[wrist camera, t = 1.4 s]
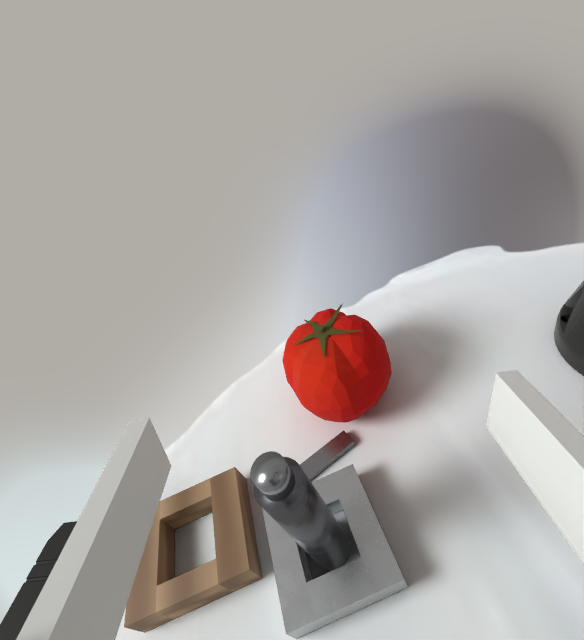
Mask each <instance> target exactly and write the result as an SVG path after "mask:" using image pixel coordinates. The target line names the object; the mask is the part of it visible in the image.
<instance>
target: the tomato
mask: <svg viewBox="0 0 584 640" xmlns="http://www.w3.org/2000/svg"><path fill="white" fill-rule="evenodd" d="M341 306H342V305H340V307H339V308H338V309H337V310H334V309H327V310H324V311H321V312H318V313H316V314H315V315H314V317H313V318H312V319H311V320H310V321H306V320H305V321H306V322H307V323H305V324H303V325H300V326H298V327H297V328H296V329H295V330H294V331H293V333H292V334H291V335H290V337H289V338H288V340H287V342H286V346H285V351H284V356H283V364H284V369H285V373H286V378H287V381H288V383H289V384H290V386H291V387H292V389H293V390H294V392H295V394H296V395H297V397H298V399H299V400H300V402H301V404H302V405H303V406H304V407H305V408H306V409H308V410H309V411H310V412H312V413H313V414H315V415H316V416H318V417H320V418H322V419H324V420H328V421H334V422H349V421H352V420H354V419H357V418H359V417H360V416H361V415H362V414H364V413H365V412H366V411H368V410H369V409H370V408H371V407H373V406H374V405H375V404H376V403H377V402H378V400H379V399H380V397H381V396H382V395H383V393H384V392H385V391H386V388H387V385H388V382H389V379H390V375H391V365H390V359H389V355H388V352H387V349H386V345H385V342H384V340H383V339H382V337H381V336H380V335H379V334H378V332H377V331H376V330H375V329H374V328H373V326H372V325H371V324H370V323H369V322H368V321H367V320H365V319H363V318H361V317H359V316H357V315H347V316H346V315H345V314H344V313H342V312H339V311H340V308H341Z"/></svg>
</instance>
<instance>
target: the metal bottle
mask: <svg viewBox="0 0 584 640" xmlns="http://www.w3.org/2000/svg"><path fill="white" fill-rule="evenodd" d="M250 476H251V480H252V482H253V484H254V494H255V498H256V500H257V502H258V503H259V505H260V506H261V507H262V508H263V509H264V510H265V511H266V512H267V513H268V514H269V515H270V516H271V517H272V518H273V519H274V520H275V521H276V522H277V523H278V524H279V525H280V526H281V527H282V528H283V529H284V530H285V531H286V532H287V533H288V534H289V535H290V536H291V537H292V538H293V539H294V540H295V541H296V542H297V543H298V544H299V545H300V546H301V547H302V548H303V549H304V550H305V551H306V552H307V553H308V554H309V555H310V556H311V557H312V558H313V559H314V560H315V561H316V562H317V563H318V564H319V565H320V566H321V567H322V568H324V569H327V570H335V569H337V568H339V567H341V566H343V565H344V564H345V562H346V561H347V559H348V557H349V554H350V542H349V538H348V536H347V534H346V533H345V531H344V530H343V528H342V527H341V526H340V524H339V523H338V521H337V520H336V518H335V517H334V515H333V514H332V512H331V511H330V509H329V508H328V506H327V505H326V503H325V502H324V501H323V499H322V498H321V496H320V495H319V493H318V492H317V490H316V489H315V487H314V486H313V484H312V483H311V481H310V480H309V478H308V477H307V476H306V474H305V473H304V471H303V470H302V468H301V467H300V465H299V464H298V463H297V462H296V461H295V460H293V459H291V458H288V457H282V456H281V455H280V454H279V453H277V452H266V453H264V454H262V455H260V456H259V457H258V458H257V459H256V460H255V461H254V463H253V465H252V467H251V472H250Z"/></svg>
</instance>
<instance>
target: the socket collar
mask: <svg viewBox="0 0 584 640" xmlns="http://www.w3.org/2000/svg"><path fill="white" fill-rule="evenodd" d="M312 484H313V486H314V487H315V489H316V490H317V492H318V493H319V495H320V496H321V498H322V499H323V501H324V502H325V503H326V505H327V506H328V508H329V509H330V511H331V512H332V514H335V513H337V512H339V511H342V510H344V513H345V516H346V518H347V521H348V524H349V526H350V529H351V532H352V534H353V537H354V539H355V542H356V545H357V547H358V550H359V553H360V555H361V558H359V559H357V560H355V561H352V562H350V563H348V564H346V565H344V566H341V567H339V568H337V569H335V570H333V571H331V572H328V573H326V574H324V575H322V576H320V577H318V578H315V579H313V580H312V577H311V573H310V569H309V566H308V562H307V558H306V554H305V551H304V549H303V548H302V547H301V546H300V545H299V544H298V543H297V542H296V541H295V540H294V539H293V538H292V537H291V536H290V535H289V534H288V533H287V532H286V531H285V530H284V529H283V528H282V527H281V526H280V525H279V524H278V523H277V522H276V521H275V520H274V519H273V518H272V517H271V516H270V515H269V514H268V513H267V512H266V511H265V510H264V509H263V508H262V511H263V516H264V521H265V526H266V532H267V537H268V542H269V547H270V552H271V558H272V563H273V568H274V573H275V578H276V584H277V589H278V594H279V599H280V604H281V610H282V615H283V620H284V625H285V630H286V634H287V635H289V636H291V637H294V638H296V639H297V638H299V637H301V636H304V635H306V634H308V633H310V632H312V631H315V630H317V629H319V628H321V627H323V626H325V625H328V624H330V623H332V622H334V621H336V620H338V619H341V618H343V617H345V616H347V615H349V614H351V613H354V612H356V611H358V610H360V609H362V608H364V607H367V606H369V605H371V604H373V603H375V602H377V601H380V600H382V599H384V598H386V597H388V596H390V595H393V594H395V593H397V592H399V591H401V590H403V589H406V588H408V586H407V584H406V582H405V579H404V577H403V575H402V573H401V570H400V568H399V566H398V564H397V561H396V559H395V557H394V555H393V552H392V550H391V548H390V546H389V544H388V541H387V539H386V537H385V535H384V532H383V530H382V528H381V526H380V523H379V521H378V519H377V517H376V515H375V512H374V510H373V508H372V506H371V503H370V501H369V499H368V497H367V494H366V492H365V490H364V488H363V486H362V483H361V481H360V479H359V477H358V474H357V472H356V470H355V468H354V466H353V464H352V465H350V466H347V467H345V468H343V469H341V470H339V471H337V472H334V473H332V474H330V475H328V476H326V477H324V478H321V479H319V480H317V481H315V482H313V483H312Z"/></svg>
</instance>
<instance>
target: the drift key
mask: <svg viewBox="0 0 584 640" xmlns="http://www.w3.org/2000/svg"><path fill="white" fill-rule="evenodd" d="M353 446H355V444H354V441H353V440H352V439H351V438H350V437H349V436H348V435H347V433H346V432H345V431H342V432H341V433H340V434H339V435H337V436H336V437H335V438H334V439H332V440H331V441H330V442H328V443H327V444H326V445H325V446H323V447H322V448H321V449H320V450H318V451H317V452H316V453H314V454H313V455H312V456H311V457H309V458H308V459H307V460H306V461H304V462H303V463H302V464H300V467H301V468H302V470H303V471H304V473H305V474H306V476H307V477H308V478H309V480H310V481H311V480H312V479H314V478H315V477H316V476H317V475H319V474H320V473H321V472H322V471H324V470H325V469H326V468H327V467H328V466H330V465H331V464H332V463H333V462H335V461H336V460H337V459H338V458H340V457H341V456H342V455H343V454H345V453H346V452H347V451H348V450H350V449H351V448H352V447H353Z"/></svg>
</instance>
